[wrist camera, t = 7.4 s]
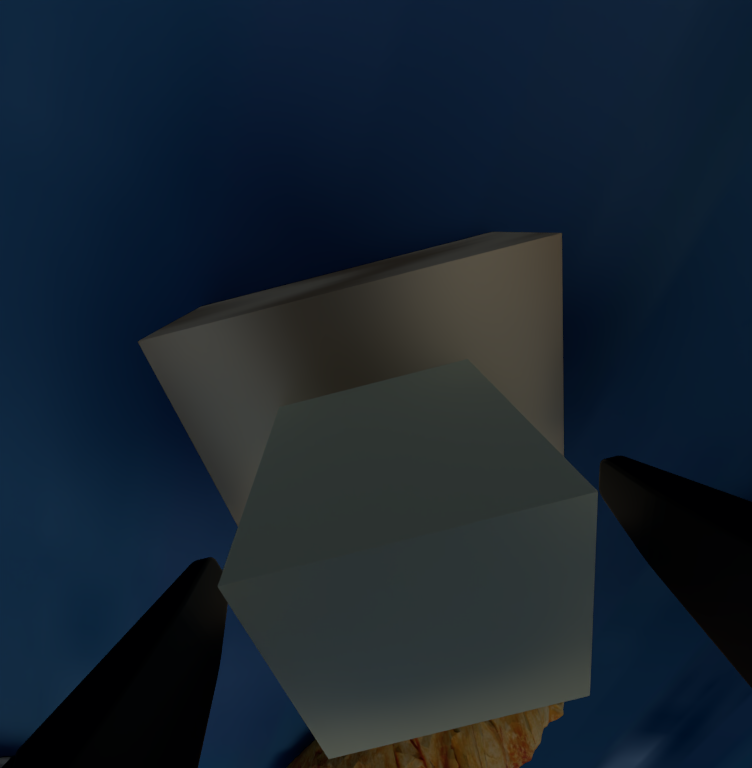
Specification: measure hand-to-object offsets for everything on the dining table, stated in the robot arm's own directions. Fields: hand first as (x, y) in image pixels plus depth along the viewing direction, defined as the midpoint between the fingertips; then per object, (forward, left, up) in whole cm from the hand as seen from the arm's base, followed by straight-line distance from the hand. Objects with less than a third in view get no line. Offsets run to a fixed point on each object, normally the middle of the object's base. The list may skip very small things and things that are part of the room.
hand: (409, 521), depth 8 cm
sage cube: (0, 0, -2) cm, 2 cm away
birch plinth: (0, 0, -6) cm, 6 cm away
